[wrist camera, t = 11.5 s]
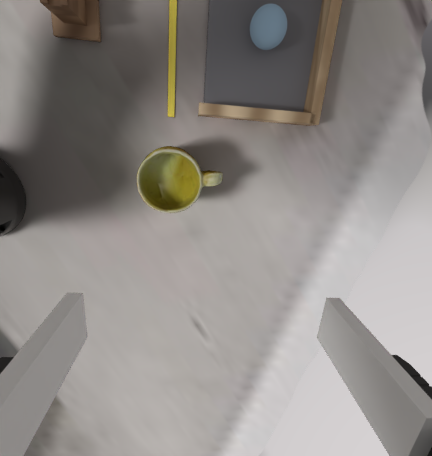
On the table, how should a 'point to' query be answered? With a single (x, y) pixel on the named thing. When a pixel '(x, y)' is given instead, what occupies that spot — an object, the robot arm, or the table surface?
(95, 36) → the tee
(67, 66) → the table surface
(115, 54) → the table surface
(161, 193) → the mug
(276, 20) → the ball
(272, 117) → the wooden u-shaped frame
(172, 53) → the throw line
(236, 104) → the mat
